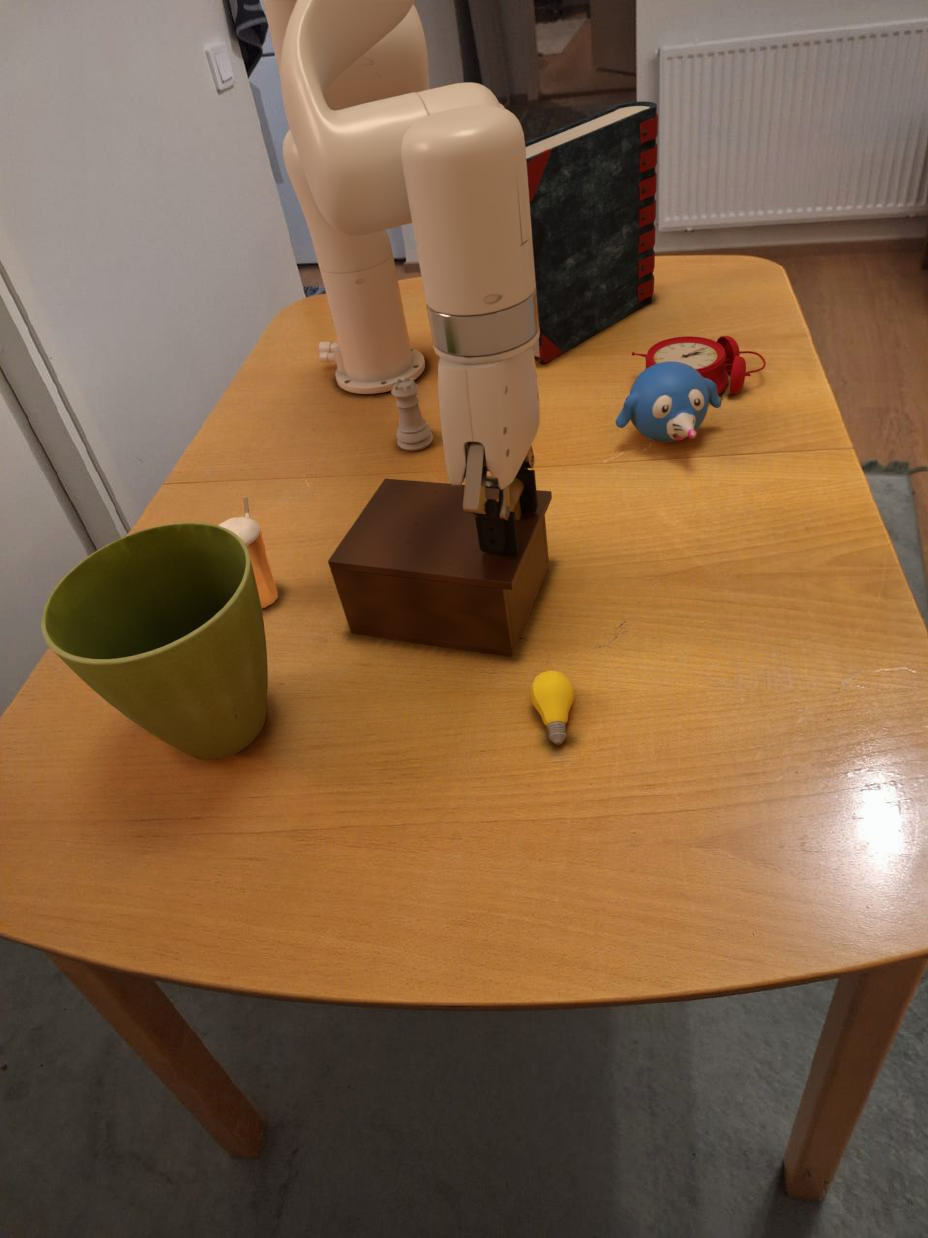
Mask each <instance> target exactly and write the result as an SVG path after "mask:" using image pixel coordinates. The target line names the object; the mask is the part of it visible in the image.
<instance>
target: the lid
mask: <svg viewBox="0 0 928 1238" xmlns="http://www.w3.org/2000/svg"><path fill="white" fill-rule="evenodd" d="M464 488H465V484H463V483H462V485H461V486H459V485H457V486H453V485H452V484H451V483H450V482H449V483H448V482H437V481H436V482H435V481H424V480H410V479H396V478H384V479H383V480H382V482H381V483H380V485H379V486H378V488H377V489H376V490H375V492H374V493H373V495H372V496H371V498H370V499H369V500H368V502H367V504H366V505H365V506H364V508H363V509H362V511H361V512H360V513H359V515H358V516H357V518H356V519H355V521H354V523H353V524H352V525H351V527H350V528H349V529H348V531H347V532H346V534H345V535H344V537H343V538H342V540H341V541H340V543H339V544H338V545H337V546H336V549H335V550H334V551H333V553H332V554H331V556H330V557H329V559H328V560H327V564H328V566H329V569H330V568H333V569H341V570H349V571H358V572H366V573H374V574H383V575H391V576H399V577H407V578H416V579H424V580H432V581H441V582H449V583H457V584H465V585H474V586H482V587H490V588H499V589H507V590H512V589H513V587H514V585H515V583H516V580H517V578H518V576H519V573H520V571H521V569H522V566H523V564H524V562H525V559H526V557H527V555H528V552H529V550H530V548H531V546H532V543H533V541H534V539H535V536H536V534H537V532H538V529H539V527H540V525H541V522H542V520H543V518H544V515H545V516H546V513H547V511H548V509H549V506H550V504H551V501H552V499H553V495H552V491H551V490H539V489H536V491H537V501H538V508H537V510H536V512H534V513H528V512H521V509H520V500H519V498H520V496H521V494H522V492H523V489H524V485H523V483H522V481H521V480H519V479H517V478H514V480H513V482H512V483H511V484H510V511H511V512H515V519H516V528H517V536H518V545H519V550H518V552H517V554H516V555H504V554H495V553H485V552H482V551H481V550H480V546H479V540H478V534H477V527H476V521H475V517H473V516H472V513H467V512H464V511H463V499H464ZM485 496H486V498H488V499H494V500H496V501H498V502H499V493H498V489H494V488H485Z"/></svg>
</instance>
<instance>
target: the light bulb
mask: <svg viewBox="0 0 928 1238" xmlns="http://www.w3.org/2000/svg"><path fill="white" fill-rule="evenodd" d="M528 696H529V699H530V702H531V704H532V705H533V707H534V708H535V710H536V711H537V712H538V713H539V715H540V717H541V719H542V720H541V721H542V722H543V724H544V725H545V726H546V730H547V735H548V740H549V741H551V742H552V743H554V744H555V745H561V744H563V742H564V741H565V740H566V738H567V737H568V736H567V729H566V724H567V722H568V721H569V713H570V710H571V707H572V705H573V702H574V699H575V687H574V684H573V683H572V682H571V680H570V679H569V678H568V677H567V675H566V674H564V672H561V671H557V670H547V671H543V672H541V673H539V674H538V675H537V676H536V677H535V678H534V680H533V681H532V683H531V685H530V688H529V695H528Z"/></svg>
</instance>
